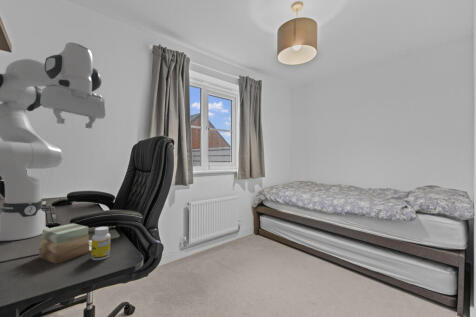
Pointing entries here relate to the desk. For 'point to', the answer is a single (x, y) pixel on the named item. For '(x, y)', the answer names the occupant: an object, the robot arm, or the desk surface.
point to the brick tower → (64, 242)
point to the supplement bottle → (100, 244)
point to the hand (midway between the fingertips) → (75, 125)
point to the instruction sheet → (90, 245)
